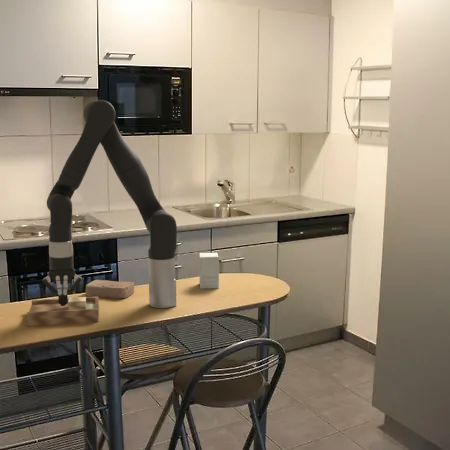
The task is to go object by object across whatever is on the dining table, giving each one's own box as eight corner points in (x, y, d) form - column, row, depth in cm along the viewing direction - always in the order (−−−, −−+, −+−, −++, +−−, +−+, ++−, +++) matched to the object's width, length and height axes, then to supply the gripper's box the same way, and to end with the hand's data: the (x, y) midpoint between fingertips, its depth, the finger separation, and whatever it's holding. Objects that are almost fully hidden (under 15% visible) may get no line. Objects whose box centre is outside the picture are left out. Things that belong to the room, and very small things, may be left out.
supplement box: (217, 283, 243) (218, 252, 240) (218, 288, 235) (219, 256, 233) (199, 283, 242) (199, 252, 240) (199, 288, 235) (199, 256, 233)
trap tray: (98, 308, 212) (98, 296, 211) (98, 321, 198) (98, 309, 197) (32, 312, 208) (31, 300, 207) (27, 326, 194) (26, 313, 193)
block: (86, 304, 206) (85, 296, 205) (85, 309, 201) (85, 300, 201) (69, 305, 205) (68, 297, 204) (68, 310, 200) (68, 301, 200)
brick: (84, 296, 227) (84, 283, 226) (95, 289, 234) (95, 277, 234) (125, 300, 222) (125, 288, 221) (135, 294, 230) (135, 281, 229)
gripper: (82, 250, 204) (84, 300, 207) (41, 252, 201) (43, 302, 204) (81, 256, 197) (83, 307, 200) (38, 257, 194) (41, 309, 197)
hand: (63, 305), depth 202 cm, fingers closed
